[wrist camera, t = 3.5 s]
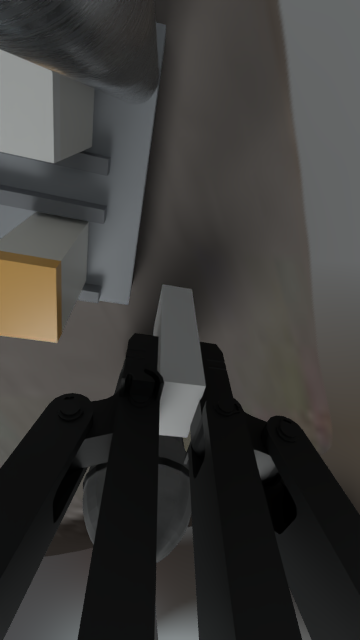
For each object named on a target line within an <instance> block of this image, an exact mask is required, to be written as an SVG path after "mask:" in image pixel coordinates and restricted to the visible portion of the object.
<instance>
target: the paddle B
mask: <svg viewBox="0 0 360 640" xmlns="http://www.w3.org/2000/svg"><path fill="white" fill-rule="evenodd" d="M93 112H94V88H92V87H90V86H87V85H85V84H82V83H80V82H78V81H75V80H73V79H70V78H68V77H66V76H63V75H61V74H58V73H56V72H54V71H51V70H49V69H46V68H44V67H42V66H39V65H37V64H34V63H32V62H30V61H27V60H25V59H22V58H20V57H18V56H15V55H13V54H10V53H8V52H6V51H3V50H1V49H0V152H4V153H9V154H13V155H18V156H22V157H27V158H32V159H36V160H41V161H45V162H50V163H56V162H58V161H61V160H63V159H65V158H68V157H70V156H72V155H75V154H77V153H79V152H81V151H84V150H86V149H88V148H91V147H92V136H93Z"/></svg>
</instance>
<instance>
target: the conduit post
mask: <svg viewBox="0 0 360 640" xmlns="http://www.w3.org/2000/svg"><path fill="white" fill-rule="evenodd" d="M0 49H1V50H3V51H6V52H8V53H10V54H13V55H15V56H18V57H20V58H22V59H25V60H27V61H30V62H32V63H34V64H37V65H39V66H42V67H44V68H46V69H49V70H51V71H54V72H56V73H58V74H61V75H63V76H66V77H68V78H70V79H73V80H75V81H78V82H80V83H82V84H85V85H87V86H90V87H92V88H94V89H97V90H99V91H102V92H104V93H106V94H109V95H111V96H113V97H116V98H118V99H121V100H123V101H125V102H128V103H131V104H141V103H144V102H146V101H148V100H149V99H150V98H151V97H152V96H153V95H154V93H155V91H156V89H157V86H158V82H159V64H158V48H157V32H156V17H155V1H154V0H0Z"/></svg>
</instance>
